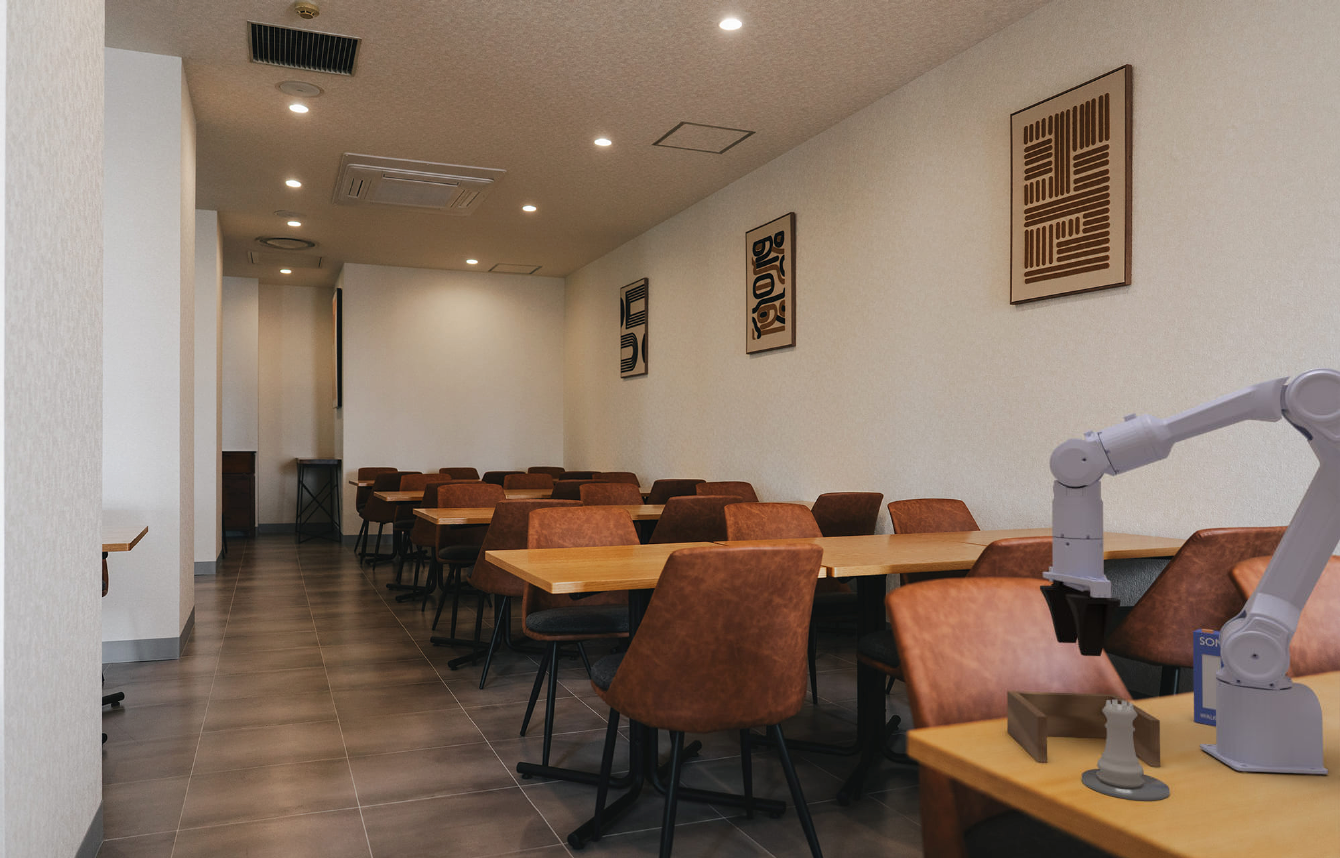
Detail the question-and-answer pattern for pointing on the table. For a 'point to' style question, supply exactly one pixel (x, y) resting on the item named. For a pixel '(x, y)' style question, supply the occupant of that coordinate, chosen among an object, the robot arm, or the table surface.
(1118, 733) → the rook chess piece
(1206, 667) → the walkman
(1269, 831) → the table surface
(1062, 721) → the u-shaped barrier
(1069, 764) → the table surface
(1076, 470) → the robot arm
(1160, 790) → the coaster
